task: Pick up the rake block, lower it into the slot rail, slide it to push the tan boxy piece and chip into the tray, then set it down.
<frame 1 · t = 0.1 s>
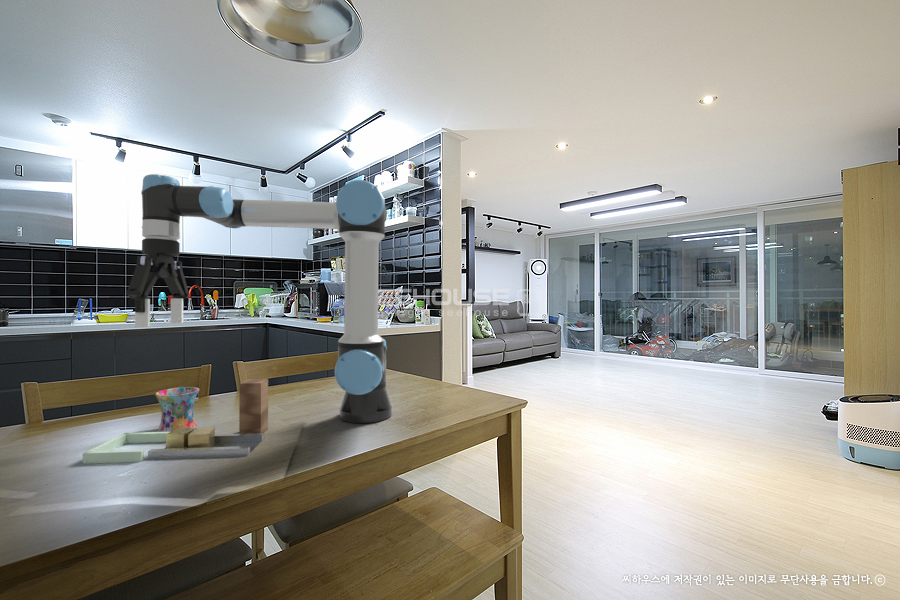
hand: (160, 324, 97), 28 cm above the table, fingers open, 13 cm apart
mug: (179, 431, 102), on the table
tray: (132, 455, 86), on the table
slot rail: (209, 452, 88), on the table
chip b: (181, 448, 87), point 1 cm above the table, touching slot rail
rake block: (254, 436, 98), on the table
tan boxy piece: (201, 448, 87), point 1 cm above the table, touching slot rail
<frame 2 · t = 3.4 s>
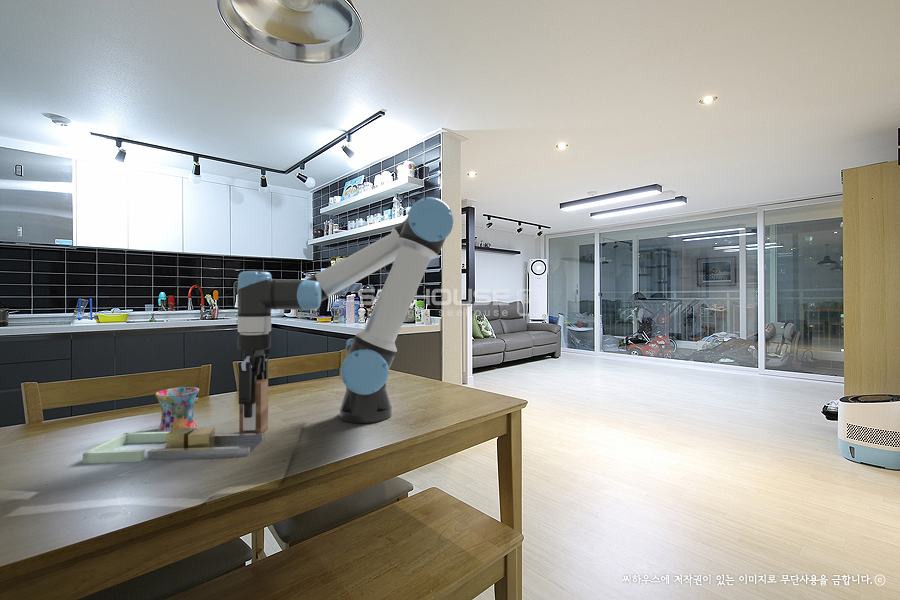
hand: (254, 425, 98), 3 cm above the table, fingers closed on rake block, 5 cm apart
rake block: (254, 436, 98), on the table, touching gripper
everything else where it was.
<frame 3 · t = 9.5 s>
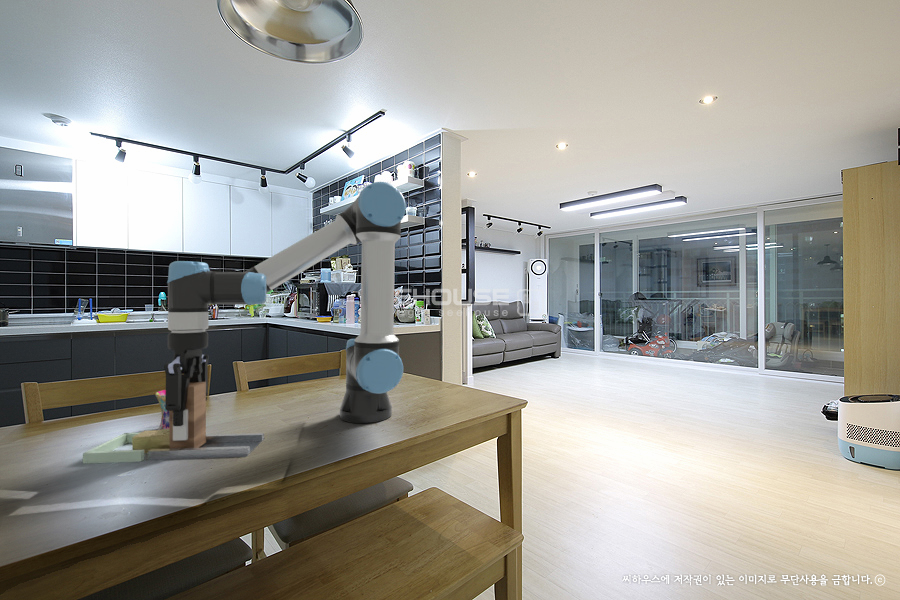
hand: (187, 434, 87), 4 cm above the table, fingers closed on rake block, 5 cm apart
chip b: (148, 451, 87), point 1 cm above the table, touching tan boxy piece, tray
rake block: (188, 446, 87), point 1 cm above the table, touching tan boxy piece, gripper
tan boxy piece: (166, 449, 87), point 1 cm above the table, touching chip b, rake block
everything else where it was.
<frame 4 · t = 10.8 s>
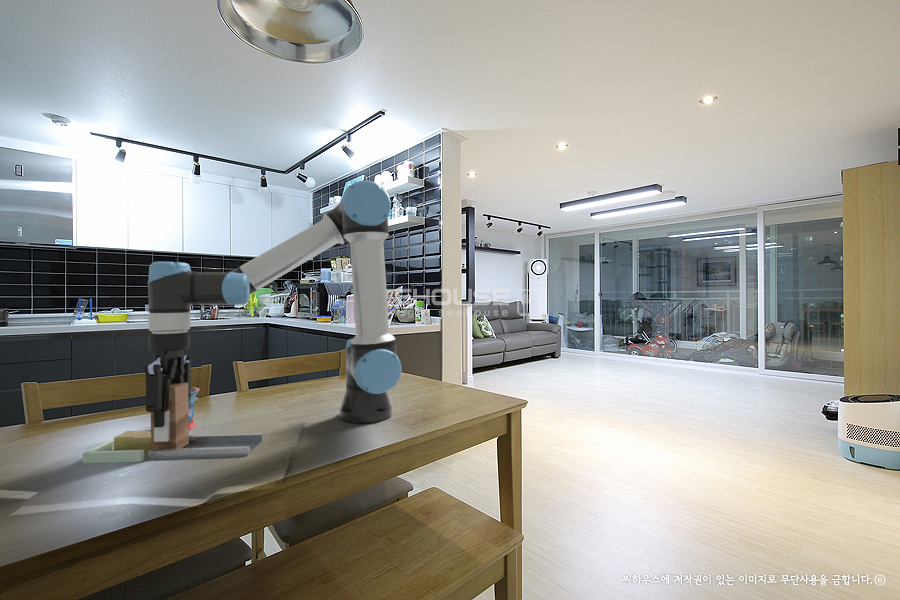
hand: (169, 436, 87), 4 cm above the table, fingers closed on rake block, 5 cm apart
chip b: (130, 451, 86), point 1 cm above the table, touching tan boxy piece, tray
rake block: (170, 447, 87), point 1 cm above the table, touching tan boxy piece, gripper
tan boxy piece: (148, 452, 86), point 1 cm above the table, touching chip b, rake block, tray
everything else where it was.
when the fingers open (4 cm above the table, at t = 16.4 s): rake block drops 1 cm, on the table.
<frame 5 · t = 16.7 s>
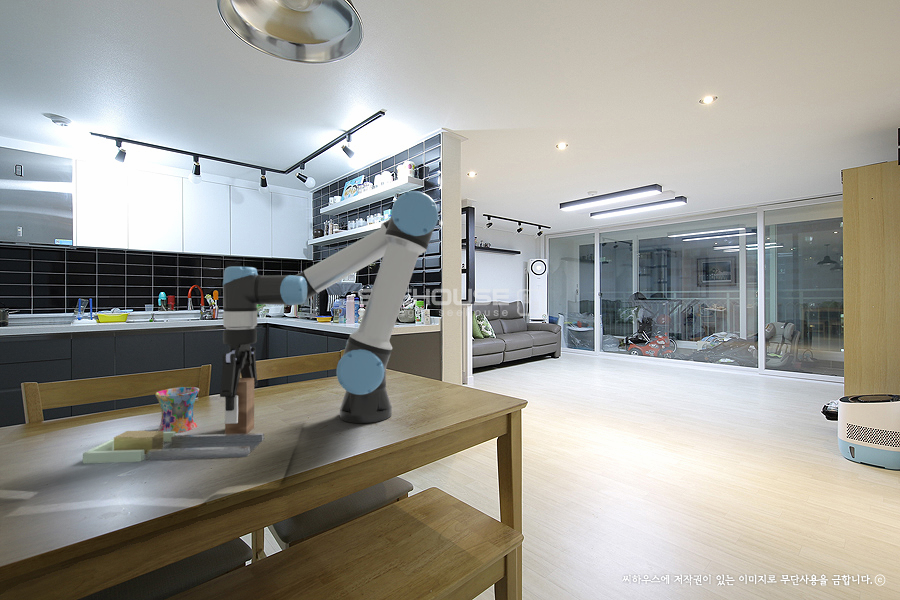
hand: (239, 416, 99), 5 cm above the table, fingers open, 9 cm apart
rake block: (240, 435, 99), on the table
tan boxy piece: (148, 452, 86), point 1 cm above the table, touching chip b, tray
everything else where it was.
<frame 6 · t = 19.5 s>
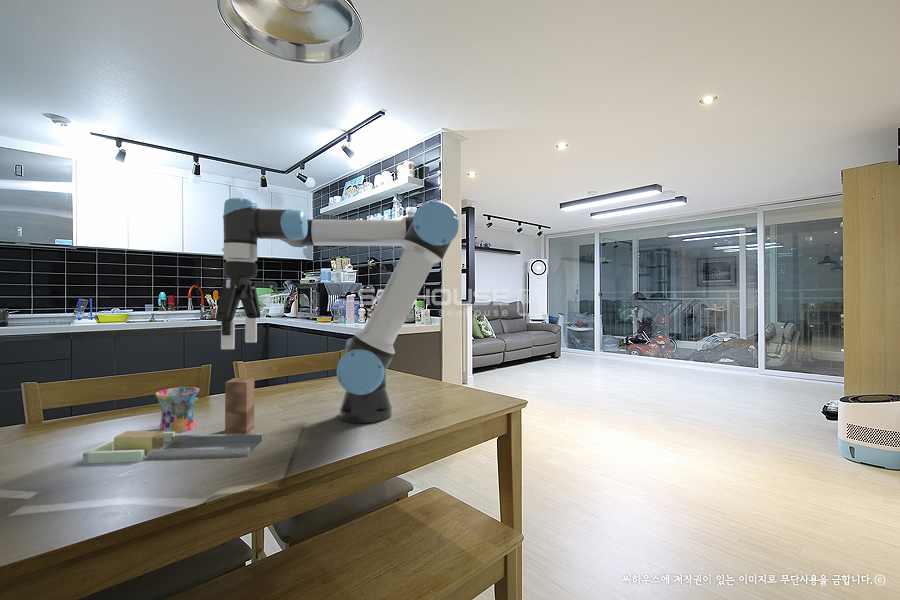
hand: (240, 345, 99), 23 cm above the table, fingers open, 13 cm apart
nothing on the table moved.
at the end: tan boxy piece inside the target area on the tray (3.1 cm from its centre), point 0.6 cm above the tray's base; chip b inside the target area on the tray (1.0 cm from its centre), point 0.6 cm above the tray's base; the gripper is holding nothing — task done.
